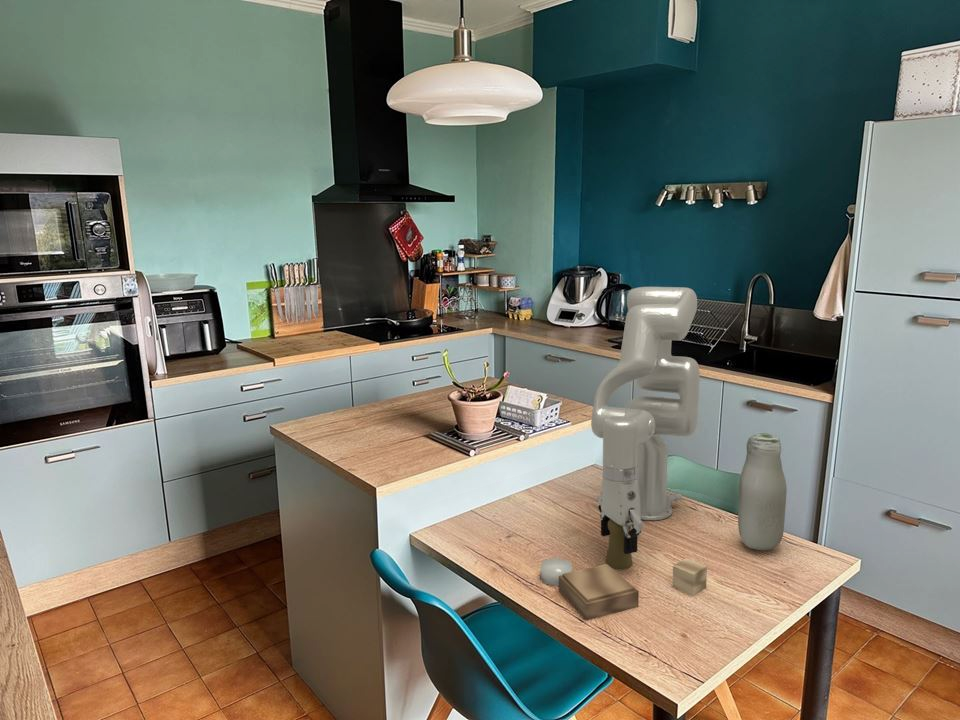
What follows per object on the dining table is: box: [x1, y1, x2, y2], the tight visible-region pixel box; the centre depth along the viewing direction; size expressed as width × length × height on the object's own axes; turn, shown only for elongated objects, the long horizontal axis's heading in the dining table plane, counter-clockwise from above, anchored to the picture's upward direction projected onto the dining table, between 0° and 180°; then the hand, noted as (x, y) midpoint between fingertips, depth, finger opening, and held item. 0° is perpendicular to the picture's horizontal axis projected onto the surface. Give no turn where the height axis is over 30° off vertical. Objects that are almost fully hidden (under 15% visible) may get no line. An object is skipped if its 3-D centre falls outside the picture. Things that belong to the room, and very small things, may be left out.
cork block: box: [671, 557, 708, 597], centre depth 146 cm, size 5×5×5 cm
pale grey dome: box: [540, 557, 573, 587], centre depth 152 cm, size 7×7×3 cm
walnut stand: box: [558, 563, 640, 621], centre depth 143 cm, size 12×12×4 cm
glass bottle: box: [737, 432, 788, 551], centre depth 160 cm, size 10×10×28 cm
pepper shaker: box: [605, 519, 633, 570], centre depth 157 cm, size 6×6×11 cm
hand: (618, 543), depth 156 cm, fingers open, 9 cm apart
